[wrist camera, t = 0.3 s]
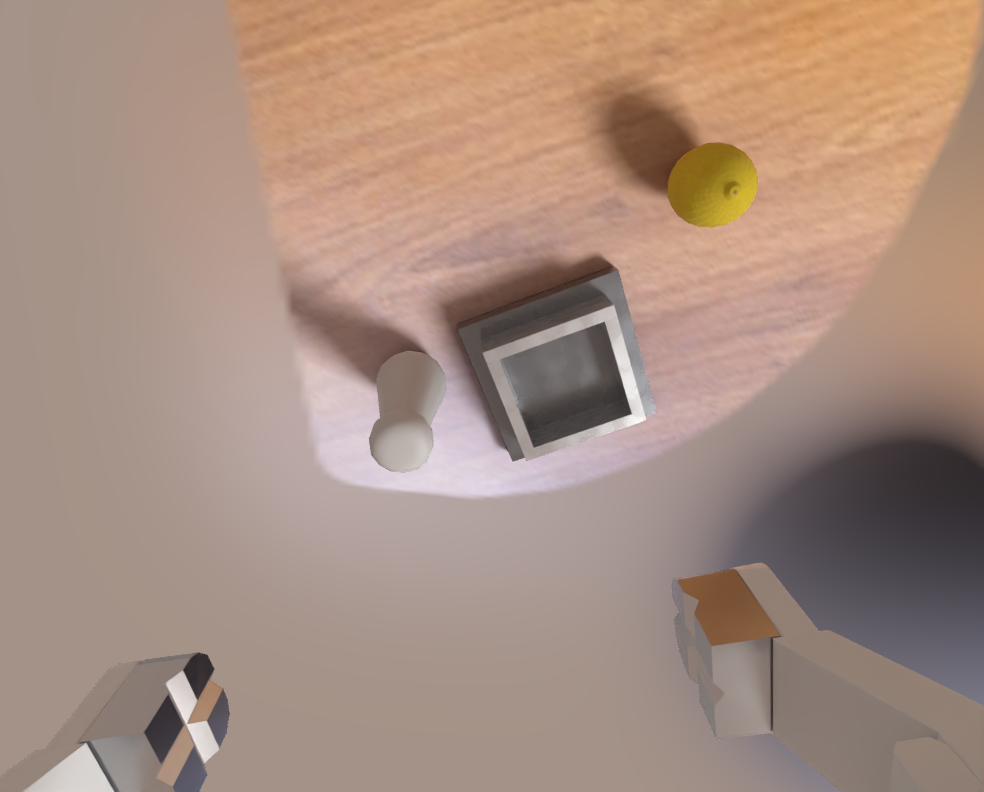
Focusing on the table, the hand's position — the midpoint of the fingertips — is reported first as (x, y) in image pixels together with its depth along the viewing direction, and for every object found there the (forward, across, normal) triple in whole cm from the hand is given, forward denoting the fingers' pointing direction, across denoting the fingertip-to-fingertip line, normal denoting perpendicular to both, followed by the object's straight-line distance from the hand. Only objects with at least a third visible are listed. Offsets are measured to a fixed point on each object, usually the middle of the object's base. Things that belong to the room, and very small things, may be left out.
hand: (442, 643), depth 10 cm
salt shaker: (+39, +6, +6) cm, 40 cm away
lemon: (+38, -18, -5) cm, 43 cm away
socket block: (+39, -6, +8) cm, 41 cm away
